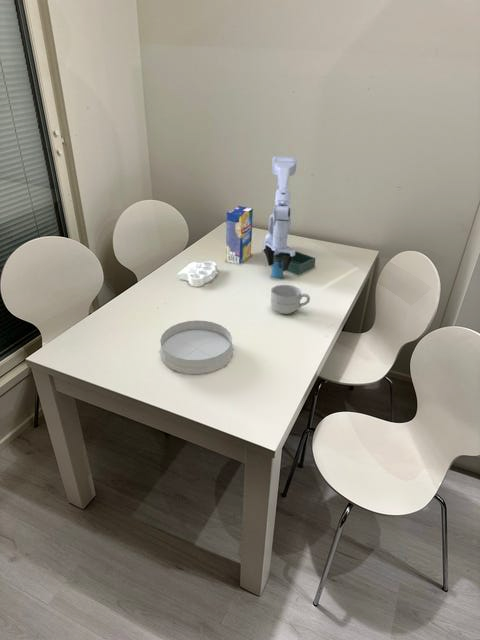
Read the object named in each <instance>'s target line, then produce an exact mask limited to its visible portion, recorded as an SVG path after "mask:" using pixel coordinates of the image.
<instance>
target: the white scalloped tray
mask: <svg viewBox="0 0 480 640" xmlns="http://www.w3.org/2000/svg"><path fill="white" fill-rule="evenodd" d="M218 274H219V272H218V264H217V263H216V262H214V261H204V262H195V261H194V262H190V263H189V264H188V265H187V266H185V267H184V268H183V269H182V270H181V271H179V272H178V273H177V278H178V279H180V280H181V281H187V282H188V283H189V285H190V286H191V287H195V288H198V287H199V288H200V287H203V286H204V285H205V284H208V283H210V282H212V281H213V280H214V279H215V278H216V275H218Z"/></svg>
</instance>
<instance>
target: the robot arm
mask: <svg viewBox="0 0 480 640" xmlns="http://www.w3.org/2000/svg"><path fill="white" fill-rule="evenodd" d="M271 161H272V162H271V173H272V175H275V176H276V178H277V188H276V191H275V194H274V195H275V196H274V197H275V198H274V207H273V211H272V214H270V215H269V219H268V228H267V229H268V230H267V233H266V234H265V238H264V242H263V247H264V248H263V252H264V254H265V257H266V260H267V265H268V266H272V264H273V258H274V255H276V254H278V253H280V252H283V253H286V254H285V255H283V256H282V258H283V272H287V271H286V270H287V269H288V266H289V264H290V262H291V260H292V258H293V257H294V256H295V252H296V251H297V250H295V249H292V248H291V247H289V246H288V235H290V233H291V226H292V224H291V223H292V222H291V221H292V219H291V214H292V208H291V192H290V190H289V189H288V188H289V182H290V181H289V180H290V177H291V176H294V175H295V174H296V173H297V165H298V164H297V162H298V159H297V157H296V156H276V155H274V156H273V157H272V160H271Z"/></svg>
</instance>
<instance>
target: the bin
mask: <svg viewBox="0 0 480 640" xmlns="http://www.w3.org/2000/svg"><path fill="white" fill-rule="evenodd" d="M295 251H296V252H295V256H294V257H293V258H292V260H291V262H290V264H289V266H288V269H287V270H286V271H285V272H288V273H291V274H294V275H297V276H300V275H302V274H303V273H305V272H307V271H309V270H311V269H313V268H315V267H316V258H317V257H314V256H311V255H308V254H305V253H302V252H299V251H297V250H295ZM285 254H286V253H283V252H280V253H278V254H276V255H274V258H273V264H274V263H275V258H282V256H283V255H285ZM281 263H282V264H283V258H282V262H281ZM273 264H272V265H273ZM272 265H271V266H272Z"/></svg>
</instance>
